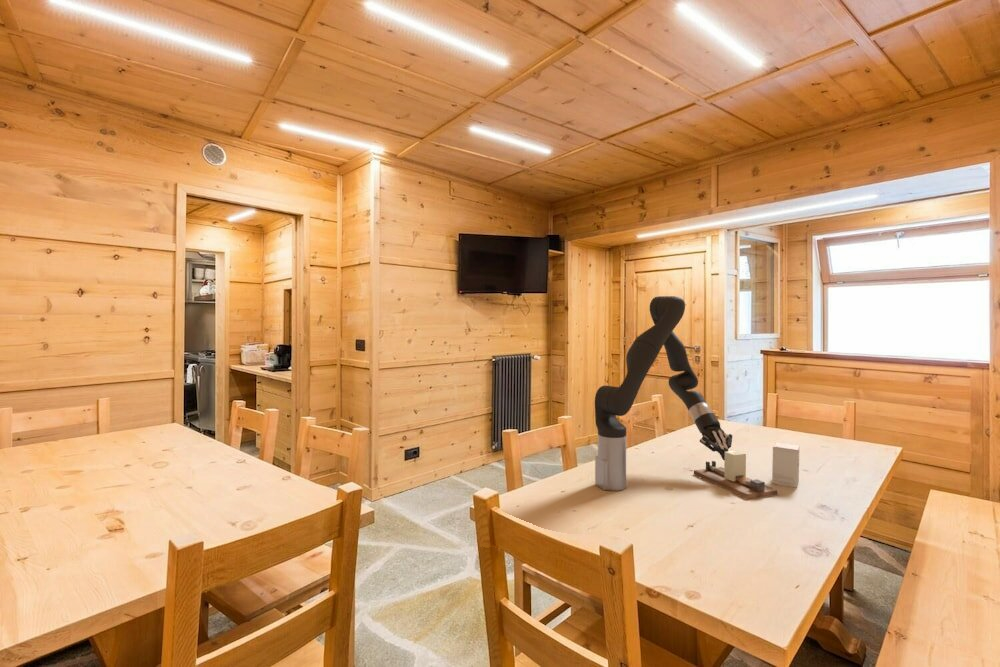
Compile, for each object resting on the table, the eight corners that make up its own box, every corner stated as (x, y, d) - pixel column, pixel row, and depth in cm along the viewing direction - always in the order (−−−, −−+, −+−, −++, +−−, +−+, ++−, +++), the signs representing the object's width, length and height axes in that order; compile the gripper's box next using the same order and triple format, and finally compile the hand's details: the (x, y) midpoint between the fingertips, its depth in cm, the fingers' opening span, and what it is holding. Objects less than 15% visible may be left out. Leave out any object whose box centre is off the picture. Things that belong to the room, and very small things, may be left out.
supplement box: (797, 488, 152) (798, 450, 152) (771, 483, 156) (772, 446, 156) (799, 482, 158) (800, 445, 157) (774, 477, 162) (774, 441, 162)
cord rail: (746, 499, 143) (747, 484, 143) (693, 474, 166) (693, 461, 166) (777, 494, 146) (777, 480, 146) (721, 471, 169) (721, 459, 169)
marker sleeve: (733, 481, 153) (733, 455, 152) (724, 477, 156) (724, 451, 156) (745, 480, 154) (745, 453, 154) (736, 476, 158) (736, 450, 158)
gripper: (693, 413, 164) (718, 457, 153) (724, 410, 168) (751, 453, 157) (683, 424, 170) (707, 468, 158) (713, 422, 173) (738, 464, 162)
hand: (729, 460), depth 157 cm, fingers closed
